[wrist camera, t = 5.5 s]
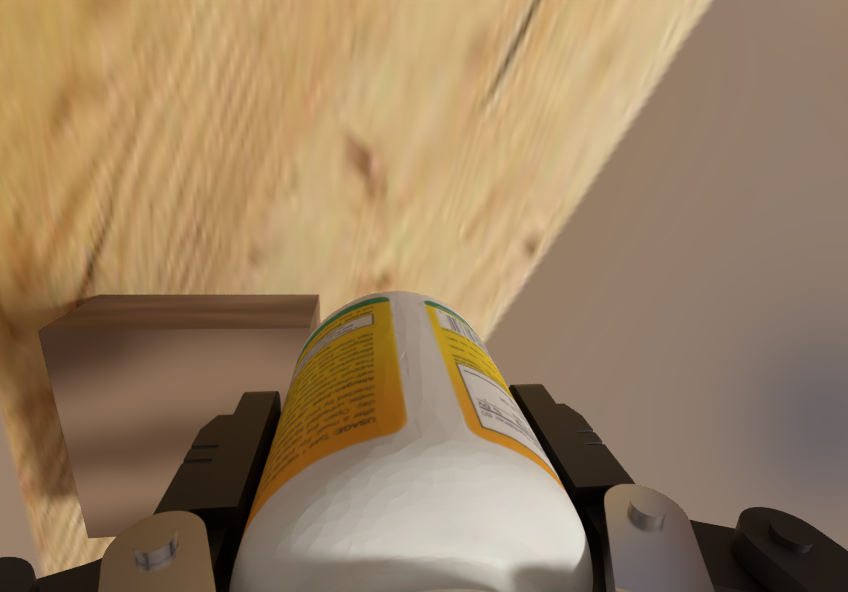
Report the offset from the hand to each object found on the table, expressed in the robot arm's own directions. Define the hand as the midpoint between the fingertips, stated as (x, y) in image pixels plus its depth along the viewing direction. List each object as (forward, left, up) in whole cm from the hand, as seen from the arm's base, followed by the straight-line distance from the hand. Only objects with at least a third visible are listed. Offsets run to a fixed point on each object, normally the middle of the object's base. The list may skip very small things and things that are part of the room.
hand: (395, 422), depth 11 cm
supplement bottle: (0, 0, -3) cm, 3 cm away
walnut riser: (+11, -11, -21) cm, 26 cm away
